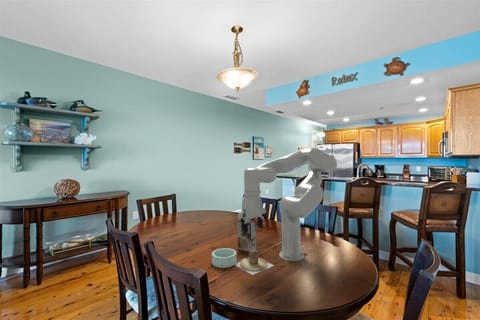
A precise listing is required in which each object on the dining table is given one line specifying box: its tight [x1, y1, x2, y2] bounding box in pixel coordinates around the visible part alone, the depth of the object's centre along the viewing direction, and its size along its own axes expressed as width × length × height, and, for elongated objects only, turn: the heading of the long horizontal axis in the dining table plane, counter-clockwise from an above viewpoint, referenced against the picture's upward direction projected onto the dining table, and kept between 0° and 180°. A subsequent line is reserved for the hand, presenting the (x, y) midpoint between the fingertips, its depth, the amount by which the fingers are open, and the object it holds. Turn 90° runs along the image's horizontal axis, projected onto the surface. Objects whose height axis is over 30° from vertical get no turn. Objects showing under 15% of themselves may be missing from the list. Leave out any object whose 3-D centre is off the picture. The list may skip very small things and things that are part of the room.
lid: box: [239, 248, 268, 271], centre depth 115 cm, size 13×13×7 cm
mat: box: [234, 261, 275, 276], centre depth 115 cm, size 14×14×1 cm
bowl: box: [211, 247, 238, 269], centre depth 119 cm, size 12×12×5 cm
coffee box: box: [236, 219, 257, 252], centre depth 136 cm, size 9×6×16 cm
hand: (252, 229), depth 115 cm, fingers open, 9 cm apart
